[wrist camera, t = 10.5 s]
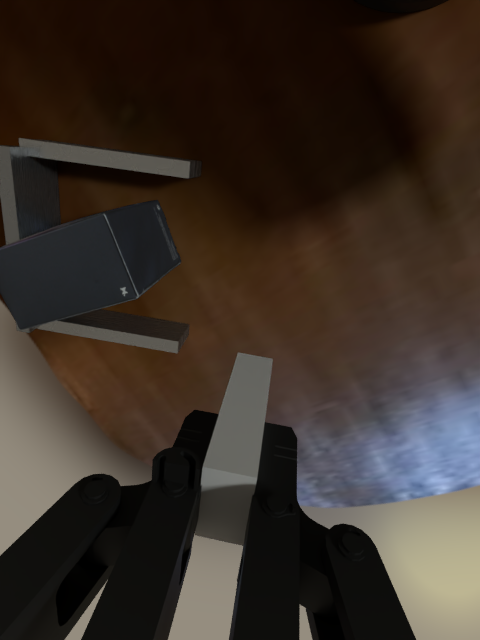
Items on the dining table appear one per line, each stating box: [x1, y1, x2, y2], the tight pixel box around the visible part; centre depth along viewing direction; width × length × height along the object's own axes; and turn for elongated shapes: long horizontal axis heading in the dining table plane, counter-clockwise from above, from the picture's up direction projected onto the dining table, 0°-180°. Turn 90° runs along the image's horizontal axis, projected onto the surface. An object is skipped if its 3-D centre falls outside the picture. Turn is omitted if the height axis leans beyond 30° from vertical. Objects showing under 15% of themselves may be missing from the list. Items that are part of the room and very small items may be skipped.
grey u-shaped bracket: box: [0, 138, 202, 353], centre depth 34 cm, size 16×14×6 cm
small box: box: [0, 200, 181, 330], centre depth 32 cm, size 11×6×10 cm, turn 107°
